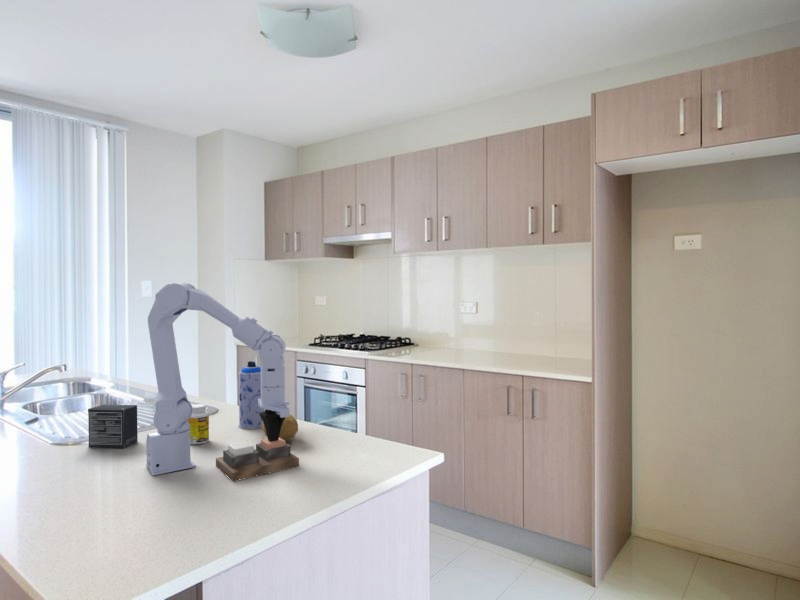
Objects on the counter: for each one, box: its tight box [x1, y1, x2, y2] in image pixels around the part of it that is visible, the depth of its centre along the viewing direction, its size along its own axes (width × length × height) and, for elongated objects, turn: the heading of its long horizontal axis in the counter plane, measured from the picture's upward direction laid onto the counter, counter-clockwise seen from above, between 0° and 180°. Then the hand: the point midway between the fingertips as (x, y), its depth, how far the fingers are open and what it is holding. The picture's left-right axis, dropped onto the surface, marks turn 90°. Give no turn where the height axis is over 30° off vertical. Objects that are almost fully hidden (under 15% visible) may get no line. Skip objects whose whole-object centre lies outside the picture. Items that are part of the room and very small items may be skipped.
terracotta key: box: [260, 437, 287, 450], centre depth 124 cm, size 4×4×2 cm
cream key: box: [227, 440, 255, 457], centre depth 119 cm, size 4×4×2 cm
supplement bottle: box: [188, 403, 210, 445], centre depth 140 cm, size 6×6×10 cm
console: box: [215, 442, 300, 482], centre depth 121 cm, size 16×12×4 cm
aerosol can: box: [238, 360, 265, 430], centre depth 156 cm, size 8×8×20 cm
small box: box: [87, 404, 138, 449], centre depth 138 cm, size 11×6×10 cm, turn 84°
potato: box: [261, 413, 299, 442], centre depth 142 cm, size 10×14×8 cm
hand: (273, 440), depth 124 cm, fingers closed, pressing on terracotta key
